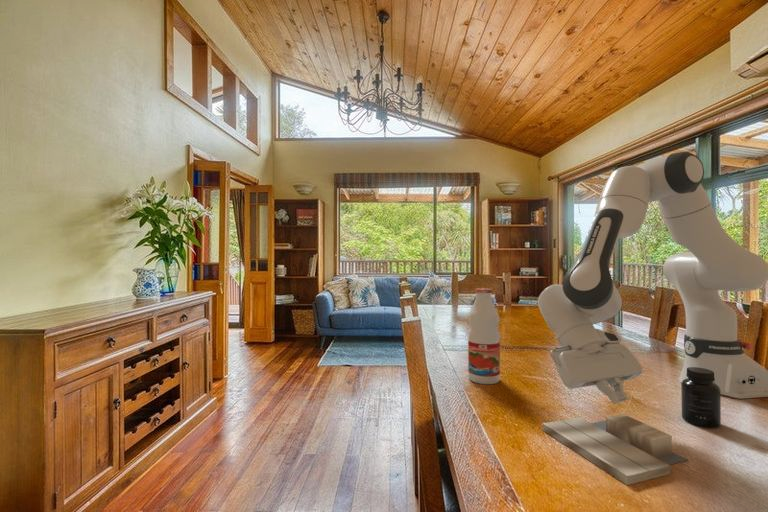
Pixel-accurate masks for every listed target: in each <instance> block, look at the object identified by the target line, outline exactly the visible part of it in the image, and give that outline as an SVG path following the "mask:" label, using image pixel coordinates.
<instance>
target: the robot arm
mask: <svg viewBox="0 0 768 512" xmlns="http://www.w3.org/2000/svg"><path fill="white" fill-rule="evenodd" d="M704 169H705V168H704V165H703V162H702V161H701V159H700V157H698V155H696V154H694V153H691V152H690V151H681V152H674V153H670V154H669V155H665V156H664V155H663V156H661V157H656V158H652V159H649V160H647V161H644V162H643V163H640V164H637V165H626V166H621V167H618V168H616V169H615V170H613V171H612V172H611V173H610V175H609V177H608V178H607V180H606V182H605V183H604V186H603V188H602V190H601V193H600V195H599V197H598V201H597V205H596V208H595V213H594V216H593V217H594V218H593V219H592V222H591V224H590V226H589V229H588V232H587V234H586V237H585V240H584V243H583V245H582V248H581V249H580V253H579V255H578V258H577V259H576V261H575V262H574V263H573V265H572V266H570V268H569V269H568V270H567V272H566V273H565V275H563V276H564V277H563V280H562V284H558V283H555V284H550V285H549V286H547V287H546V288H544V289H543V291H541V293H540V294H539V295H538V298H537V305H538V309H539V311H540V313H541V315H542V317H543V319H544V321H545V322H546V324H547V326H548V327H549V329H550V330H551V331H552V332H554V334H555V336H556V339H557V341H558V343H559V345H560V347H558V346H557V347H556V346H555V347H553V348H552V350H551V351H550V357H551V359H552V360H553V362H554V366H555V368H556V371H557V373H558V375H559V378H560V379H561V381H562V383H563V385H564V386H565V387H566V388H568V389H570V390H573V389H579V388H585V387H586V388H587V387H590V386H591V387H592V386H596V387H597V389H598V390H599V391H600V392H601V393H603V394H604V395H606V396H607V397H608V398H609V400H610V402H611V403H613V404H616V403H622V402H626V401H627V400H628V398H629V397H628V395H627V394H626V393H625V391H624V384H623V381H630V380H631V381H632V380H634V379H636V378H638V377H639V376H641V375H642V374H643V367H642V366H641V363H640V362H639V360H638V359H637V358H636V357H635V356H634V354H633V353H632V352H631V350H630V349H629V348H628V347H627V346H626V345H625V344H622V343H621V342H622V338H621V336H620V335H619V334H617V333H614V332H611V331H605V330H602V329H600V328H596V327H595V326H594V325H596V324H600V323H604V322H605V321H608V320H610V319H613V318H614V317H616V316H618V314H619V313H620V312H621V309H622V307H623V299H622V296H621V294H620V292H619V290H618V288H616V285H615V283H614V281H613V278H612V275H611V271H610V264H611V261H612V257H613V255H614V252H615V248H616V245H617V242H618V240H619V239H623V238H629V237H631V236H633V235H635V234H637V233H639V231H640V229H641V227H642V226H643V223H644V221H645V218H646V215H647V212H648V207H649V203H651V202H656V201H657V203H658V204H657V205H658V208H659V211H660V214H661V216H662V218H663V221H664V223H665V226H666V228H667V231H668V233H669V235H670V238H671V239H672V241H673V242H674V243H676V244H677V245H679V246H681V247H683V248H685V249H686V250H688V251H684V252H679V253H675V254H674V253H673V254H671V255H669V256H668V257H667V258H666V259H665V260H664V263H663V265H662V273H663V276H664V278H665V279H666V280H667V281H668V282H669V283H670V284H672V286H673V287H674V288H675V289H676V290H677V292H678V294H679V297H680V298H681V300H682V303H683V306H684V307H683V308H684V312H685V334H684V337H683V348H684V352H685V354H684V359H683V360H684V361H683V365H682V370H681V373H680V376H679V378H678V381H679V383H682V381H683V380H684V379H687V378H688V377H687V376H686V374H687V368H689V367H698V368H704V369H708V370H711V371H713V372H714V378H715V381H713V382H714V383H715V384H717V385H718V386H719V388H720V391H721V395H722V396H726V397H731V398H734V399H741V400H742V399H753V398H754V399H755V398H764V397H765V398H768V369H766V367H764V365H763V366H762V365H761V364H759V363H758V362H757V361H756V360H754V359H753V358H751V357H750V356H748V355H747V354H746V353H745V351H744V349H746V350H748V351H752V350H753V349H754V348H755V347H754V346H755V345H754V344H753V343H752V342H748V341H746V340H745V341H740V340H739V339H738V315H737V312H736V310H735V309H734V308H733V307H731V306H730V305H729V304H727V303H726V302H724V300H723V299H722V297H721V296H720V294H719V291H722V292H723V291H725V292H735V293H737V292H738V293H739V292H748V291H756V290H760V289H761V288H762V287H764V286H765V284H766V283H767V282H768V263H767V261H766V260H765V259H764V258H763V257H762V256H761V255H759V254H756V253H754V252H752V251H751V250H747V249H746V248H744V247H743V246H742V245H740V244H739V243H738V242H737V241H735V240H734V239H733V238H732V237H731V236H730V235H729V234H728V233H727V232H726V230H725V229H724V227H723V226H722V224H721V223H720V221H719V219H718V217H717V214H716V212H715V210H714V208H713V206H712V203H711V200H710V198H709V195H708V194H707V192H706V190H705V188H704V187H703V185H702V182H703V179H704V176H705V170H704Z"/></svg>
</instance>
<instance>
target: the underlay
mask: <svg viewBox="0 0 768 512" xmlns="http://www.w3.org/2000/svg"><path fill="white" fill-rule="evenodd" d="M590 423H591V424H593V425H594V426H596V427H598V428H600V429H602V430H604V431H606V419H605V420H602V421H601V420H600V421H595V422H590ZM657 459H659V460H661V461H662V462H664V463H666V464H668V465H670V466H671V465H675V464H676V465H677V464H679V463H683V462H686V461H687V462H688V461H689V459H688V458H686V457H684V456H682V455H679V454H677V453H676V452H674V451H672V454H669V455H665V456H661V457H657Z"/></svg>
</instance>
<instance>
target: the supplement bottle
mask: <svg viewBox="0 0 768 512" xmlns="http://www.w3.org/2000/svg"><path fill="white" fill-rule="evenodd" d="M686 376H687V377H688V378H687V379H684V380H683V381H682V383H681V382H680V383H681V395H680V396H681V397H680V398H681V418H682V420H684V421H685V422H686V423H689V424H690V425H693V426H697V427H700V428H705V429H717V428H719V427H721V425H722V423H721V421H722V420H721V419H722V417H721V416H722V411H721V410H722V408H721V407H722V405H721V404H722V403H721V400H722V399H721V395H722V394H721V391H720V388H719V386H718V385H717V384H715V383H714V382H713V381H715V378H714V372H713V371H711V370H708V369H704V368H698V367H689V368H687V374H686Z"/></svg>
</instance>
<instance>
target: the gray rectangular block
mask: <svg viewBox="0 0 768 512" xmlns="http://www.w3.org/2000/svg"><path fill="white" fill-rule="evenodd" d="M605 420H606V432H608V433H610V434H611V435H613V436H615V437H617V438H619V439H621V440H623V441H625V442H627V443H628V444H630V445H632V446H634V447H636V448H638V449H640V450H642V451H644V452H645V453H647V454H649V455H651V456H653V457H655V458H657V457H661V456H665V455H669V454H672V452H673V450H672V448H673V447H672V445H673V444H672V443H673V441H672V439H673V438H672V437H673V436H672V435H671V434H668V433H666V432H664V431H662V430H660V429H657V428H655V427H654V426H652V425H649V424H647V423H644V422H642V421H640V420H637V419H635V418H634V417H631V416H629V415H626V414H624V413H623V414H622V413H621V414H615V415H611V416H607V417H605Z"/></svg>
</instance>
